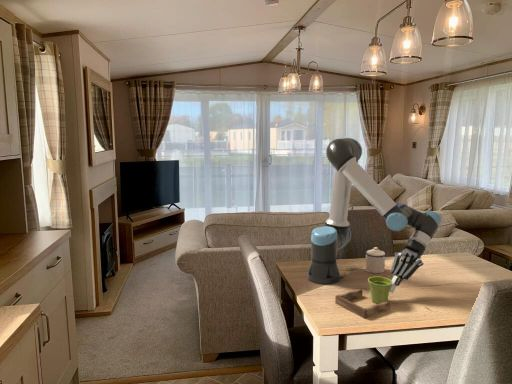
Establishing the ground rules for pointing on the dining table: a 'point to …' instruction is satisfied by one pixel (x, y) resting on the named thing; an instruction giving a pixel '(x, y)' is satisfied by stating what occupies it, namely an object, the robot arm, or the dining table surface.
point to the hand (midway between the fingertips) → (389, 290)
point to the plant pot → (379, 288)
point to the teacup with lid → (375, 260)
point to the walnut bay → (344, 302)
